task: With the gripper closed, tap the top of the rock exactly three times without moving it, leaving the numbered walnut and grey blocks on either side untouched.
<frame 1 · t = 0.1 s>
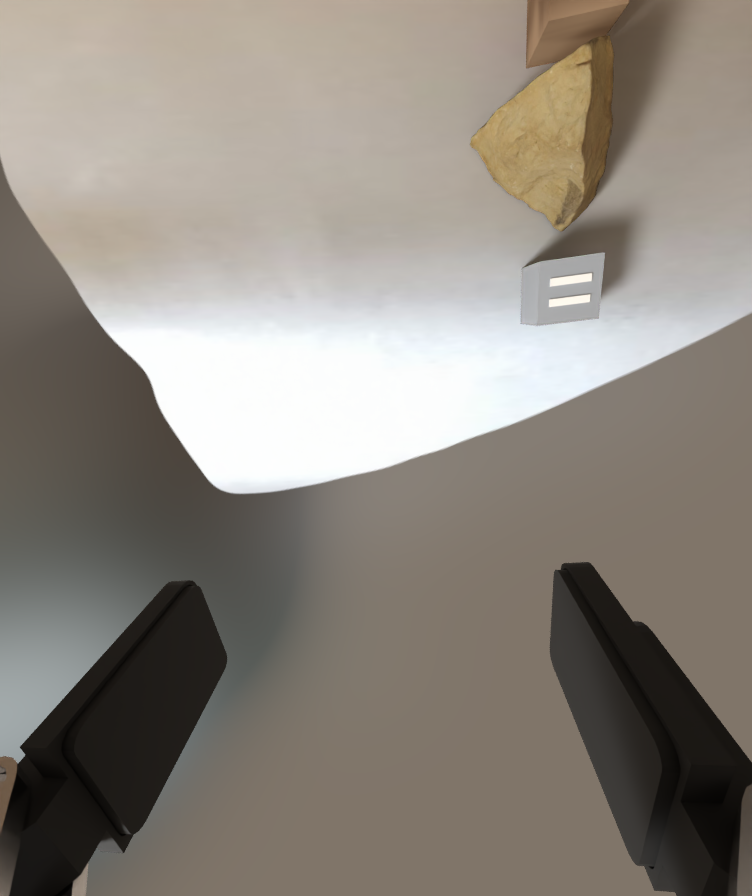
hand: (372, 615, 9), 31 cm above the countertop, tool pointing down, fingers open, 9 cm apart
walnut block 1: (560, 19, 27), on the countertop
rock: (528, 180, 31), on the countertop
grey block 11: (547, 293, 34), on the countertop
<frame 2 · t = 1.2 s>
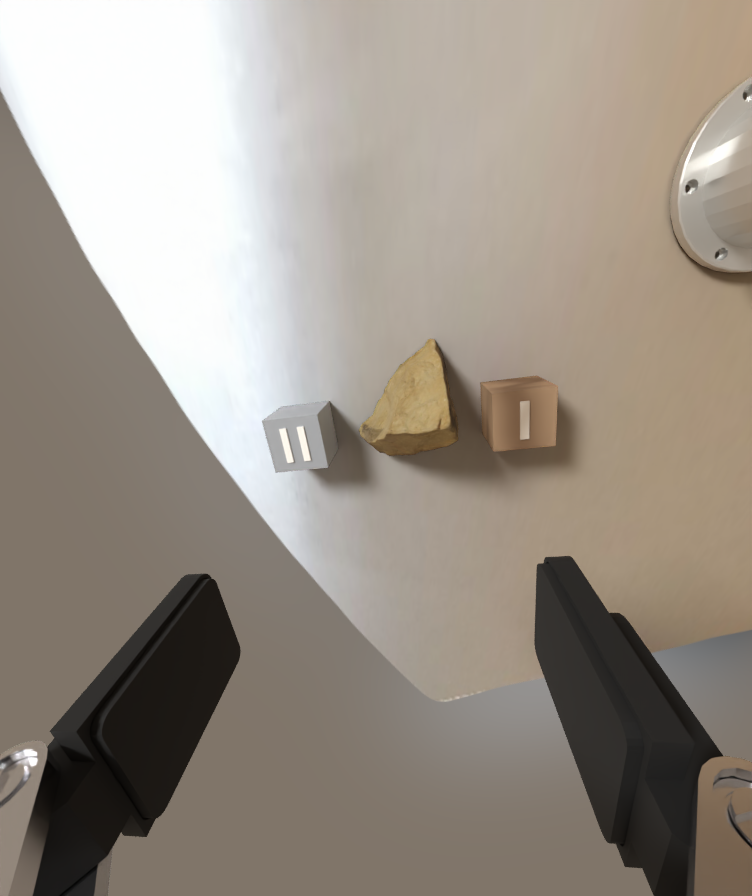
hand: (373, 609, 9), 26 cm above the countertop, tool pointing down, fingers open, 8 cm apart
walnut block 1: (508, 405, 33), on the countertop
rock: (400, 396, 34), on the countertop
grey block 11: (310, 427, 36), on the countertop
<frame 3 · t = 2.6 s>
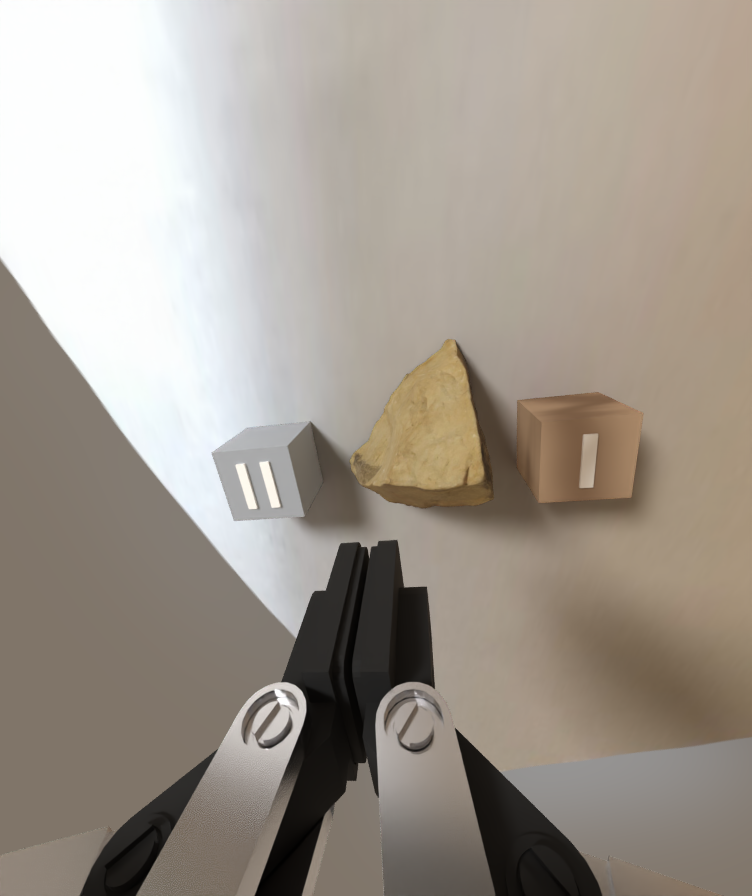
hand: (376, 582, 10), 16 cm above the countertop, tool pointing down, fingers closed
walnut block 1: (554, 431, 24), on the countertop
rock: (406, 417, 25), on the countertop
grey block 11: (286, 455, 27), on the countertop
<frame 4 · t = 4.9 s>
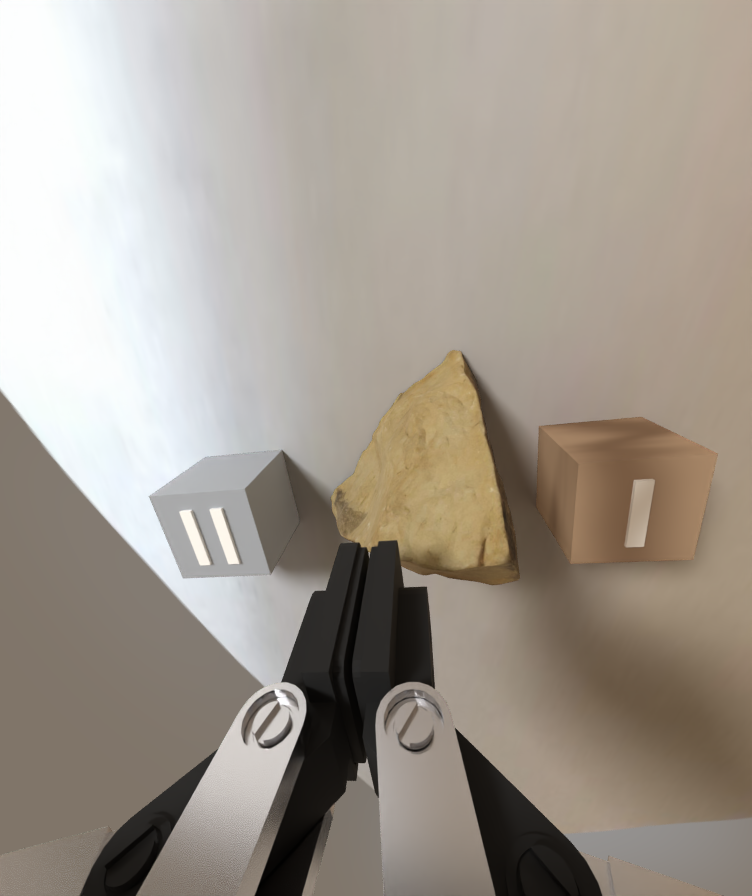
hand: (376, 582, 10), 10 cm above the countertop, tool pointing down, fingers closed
walnut block 1: (584, 464, 19), on the countertop
rock: (400, 445, 20), on the countertop
grey block 11: (254, 489, 22), on the countertop
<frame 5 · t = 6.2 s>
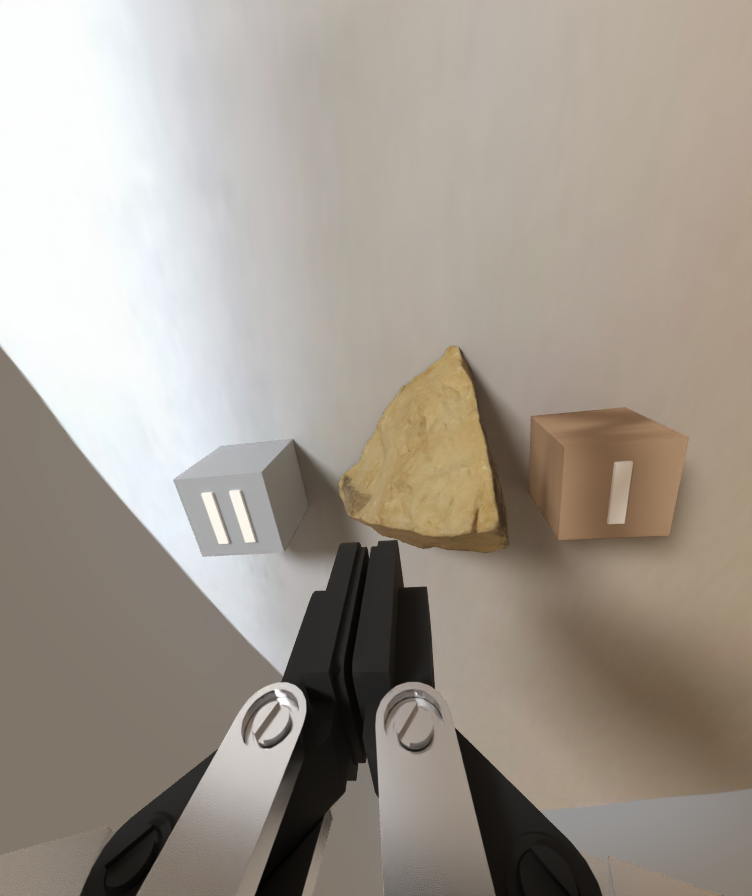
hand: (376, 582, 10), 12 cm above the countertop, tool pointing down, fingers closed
walnut block 1: (573, 451, 21), on the countertop
rock: (402, 434, 22), on the countertop
grey block 11: (266, 476, 24), on the countertop
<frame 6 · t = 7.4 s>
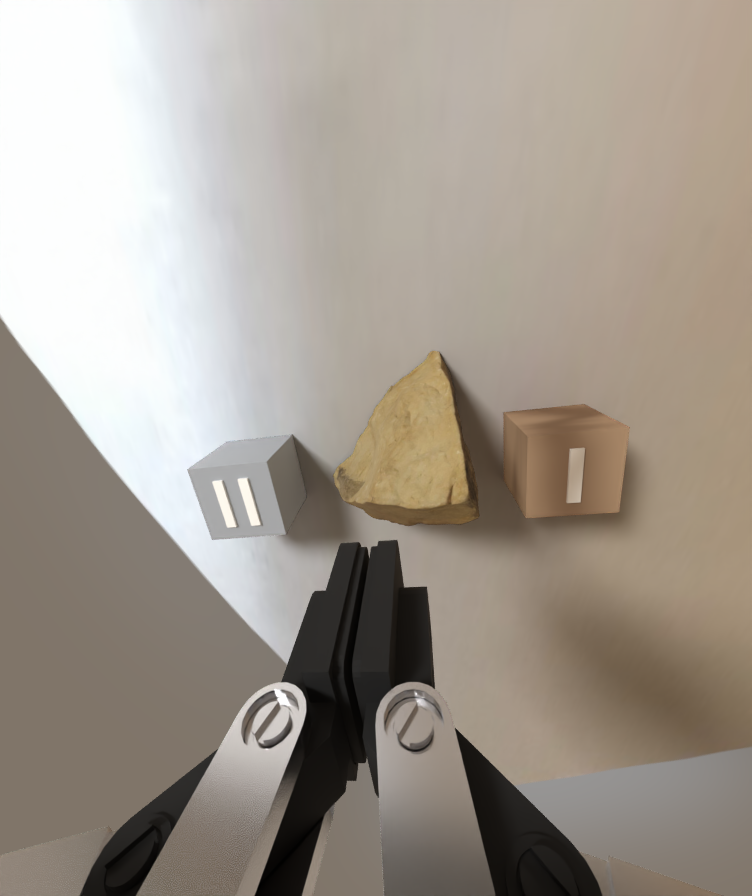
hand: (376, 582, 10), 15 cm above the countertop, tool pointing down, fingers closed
walnut block 1: (541, 443, 24), on the countertop
rock: (391, 430, 24), on the countertop
grey block 11: (268, 469, 26), on the countertop
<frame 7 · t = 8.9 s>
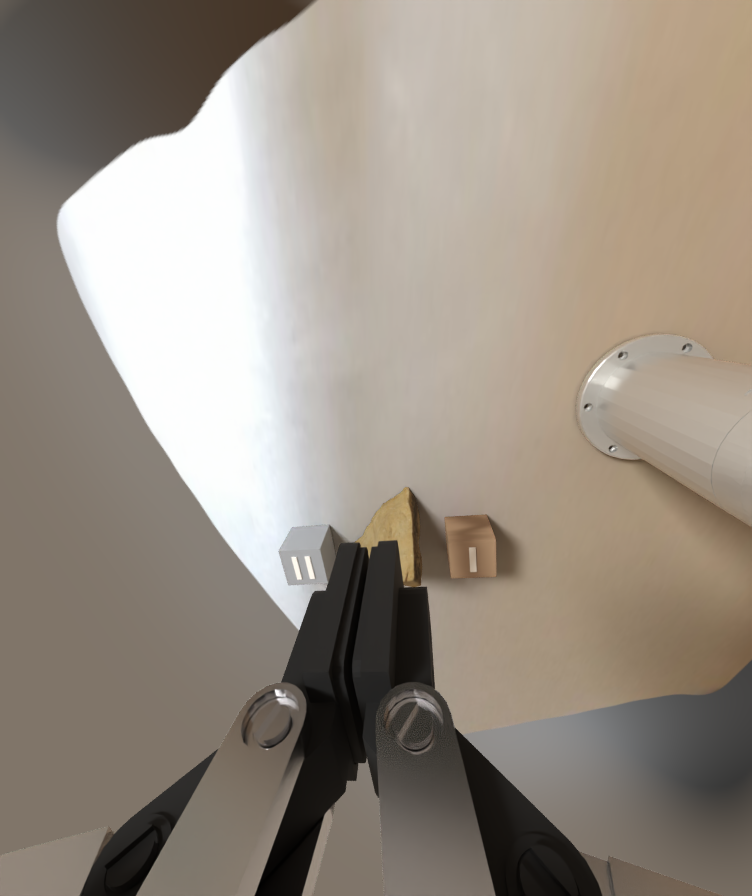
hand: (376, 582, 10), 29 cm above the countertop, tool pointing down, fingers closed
walnut block 1: (466, 532, 43), on the countertop
rock: (384, 523, 44), on the countertop
grey block 11: (314, 541, 46), on the countertop
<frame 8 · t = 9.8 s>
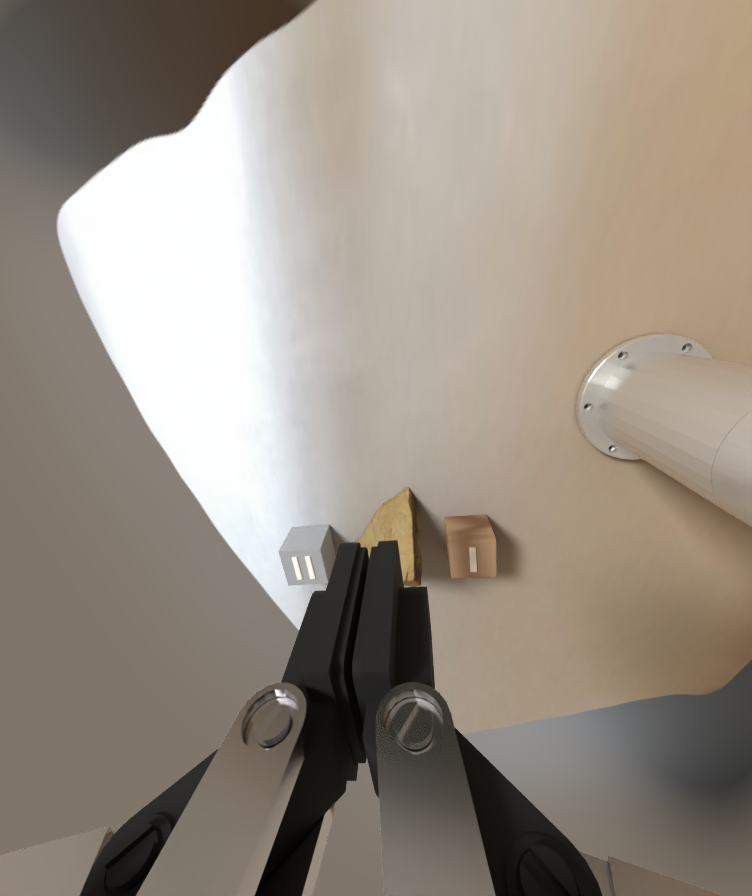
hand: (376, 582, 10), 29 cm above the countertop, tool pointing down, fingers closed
walnut block 1: (466, 532, 43), on the countertop
rock: (384, 523, 44), on the countertop
grey block 11: (314, 541, 46), on the countertop
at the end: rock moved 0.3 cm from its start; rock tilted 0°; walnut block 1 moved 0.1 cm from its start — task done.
